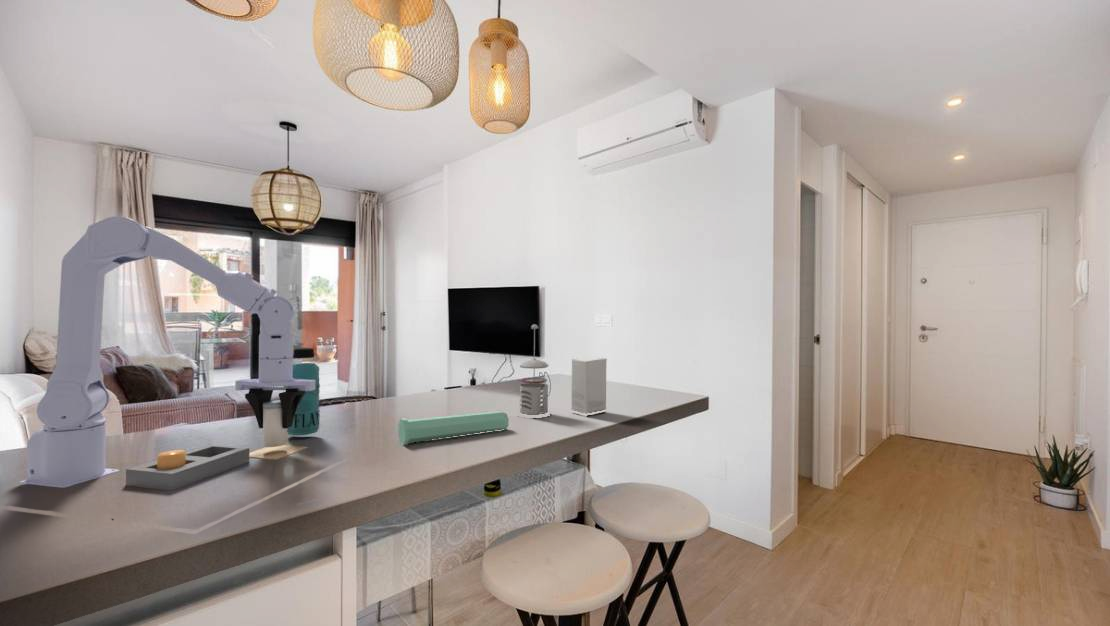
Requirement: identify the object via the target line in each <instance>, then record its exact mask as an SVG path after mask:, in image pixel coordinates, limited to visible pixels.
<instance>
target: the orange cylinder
mask: <svg viewBox="0 0 1110 626" xmlns="http://www.w3.org/2000/svg"><path fill="white" fill-rule="evenodd" d="M186 451H187V450H184V449H175V450H168V451H163V452H160V453H158V454H157V455H156V460H157V469H163V470H170V469H174V468H177V467H180V466H183V465H186Z"/></svg>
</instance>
